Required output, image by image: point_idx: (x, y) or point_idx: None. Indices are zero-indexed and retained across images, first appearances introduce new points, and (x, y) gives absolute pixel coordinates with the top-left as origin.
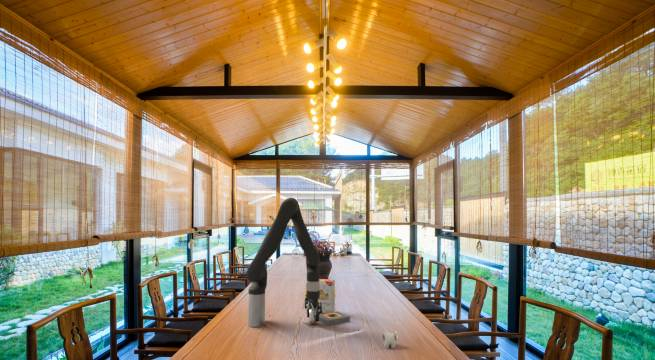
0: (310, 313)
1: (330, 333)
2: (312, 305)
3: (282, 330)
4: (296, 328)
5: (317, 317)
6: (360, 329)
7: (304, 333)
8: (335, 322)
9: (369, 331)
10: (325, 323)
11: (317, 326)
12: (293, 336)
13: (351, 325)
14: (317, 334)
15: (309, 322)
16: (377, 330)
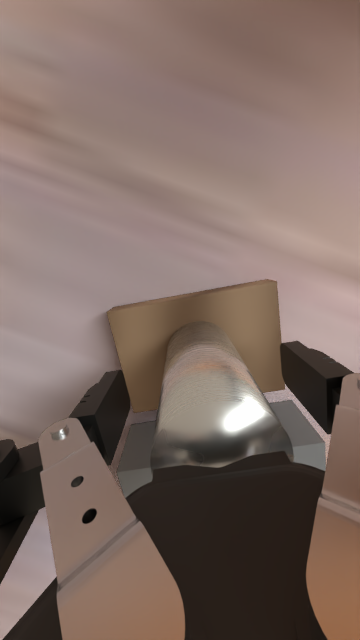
0: (188, 376)
1: (25, 406)
2: (75, 563)
3: (236, 28)
4: (230, 201)
5: (77, 413)
6: (52, 567)
7: (77, 226)
8: None
9: (8, 587)
10: (152, 442)
11: (134, 367)
12: (25, 93)
13: None
14: (26, 317)
15: (202, 327)
16: (14, 618)
